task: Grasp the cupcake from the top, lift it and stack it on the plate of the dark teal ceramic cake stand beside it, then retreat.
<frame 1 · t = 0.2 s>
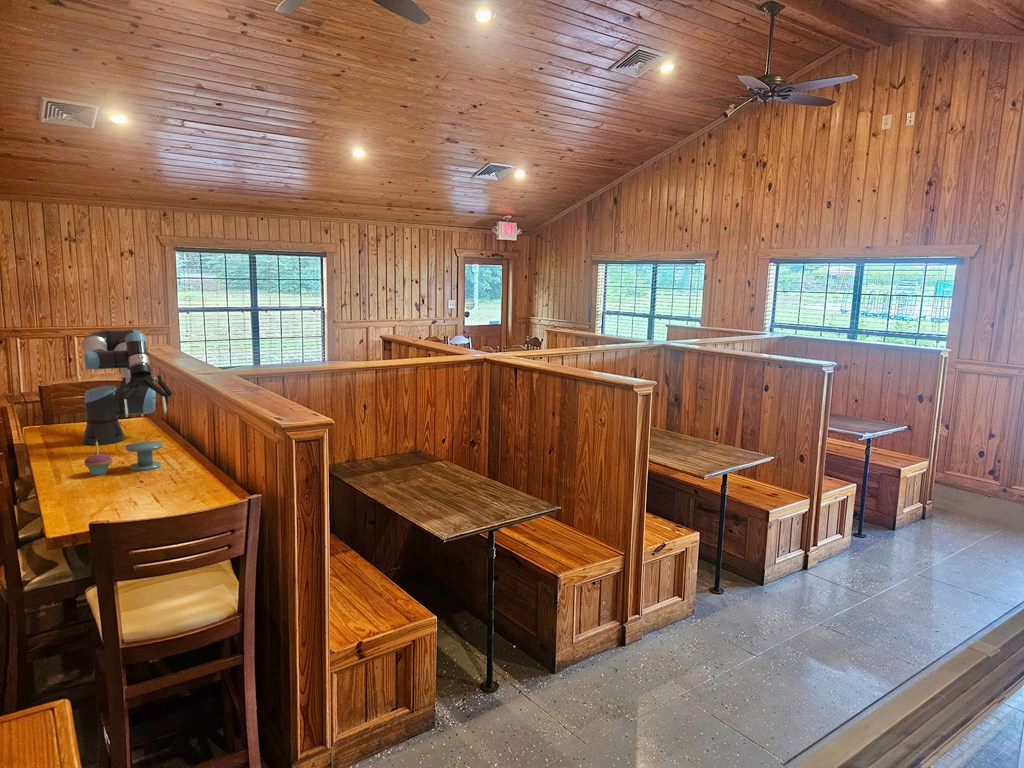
hand: (146, 413, 261), 16 cm above the table, tool tilted 35°, fingers open, 13 cm apart
cupcake: (99, 474, 233), on the table
cake stand: (145, 467, 242), on the table
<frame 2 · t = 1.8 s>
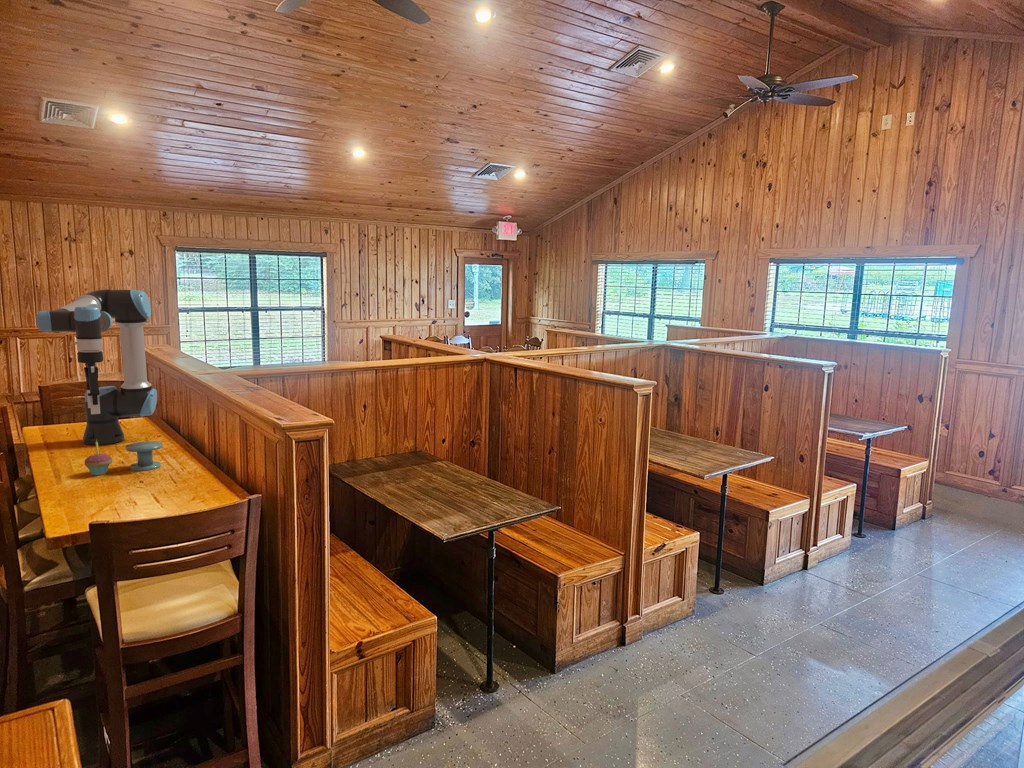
hand: (94, 410, 230), 23 cm above the table, tool pointing down, fingers open, 13 cm apart
nothing on the table moved.
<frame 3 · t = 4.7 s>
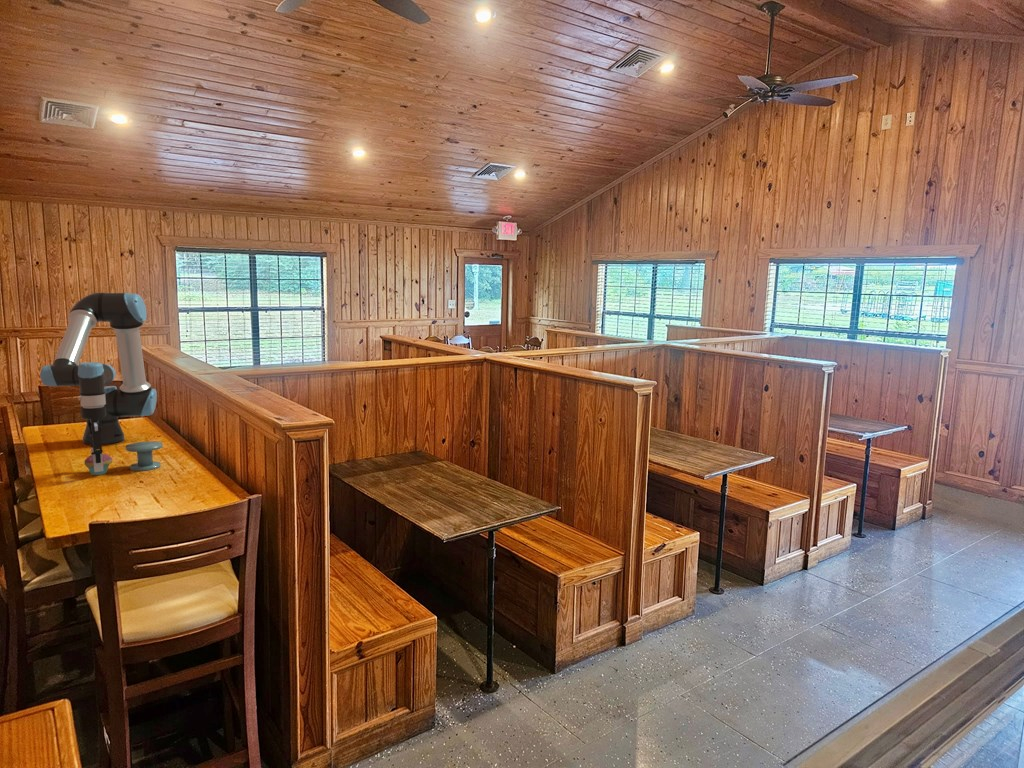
hand: (97, 468, 233), 2 cm above the table, tool pointing down, fingers closed on cupcake, 8 cm apart
cupcake: (99, 473, 234), on the table, touching gripper
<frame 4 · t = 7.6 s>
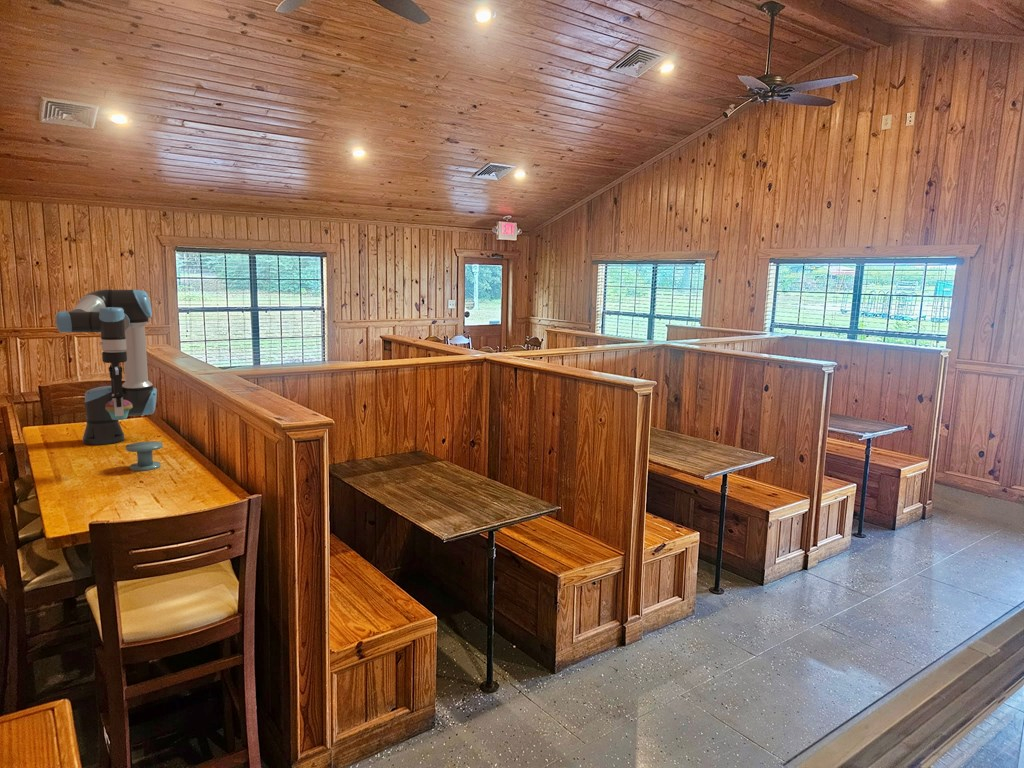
hand: (118, 413, 235), 21 cm above the table, tool pointing down, fingers closed on cupcake, 8 cm apart
cupcake: (119, 419, 235), point 19 cm above the table, touching gripper
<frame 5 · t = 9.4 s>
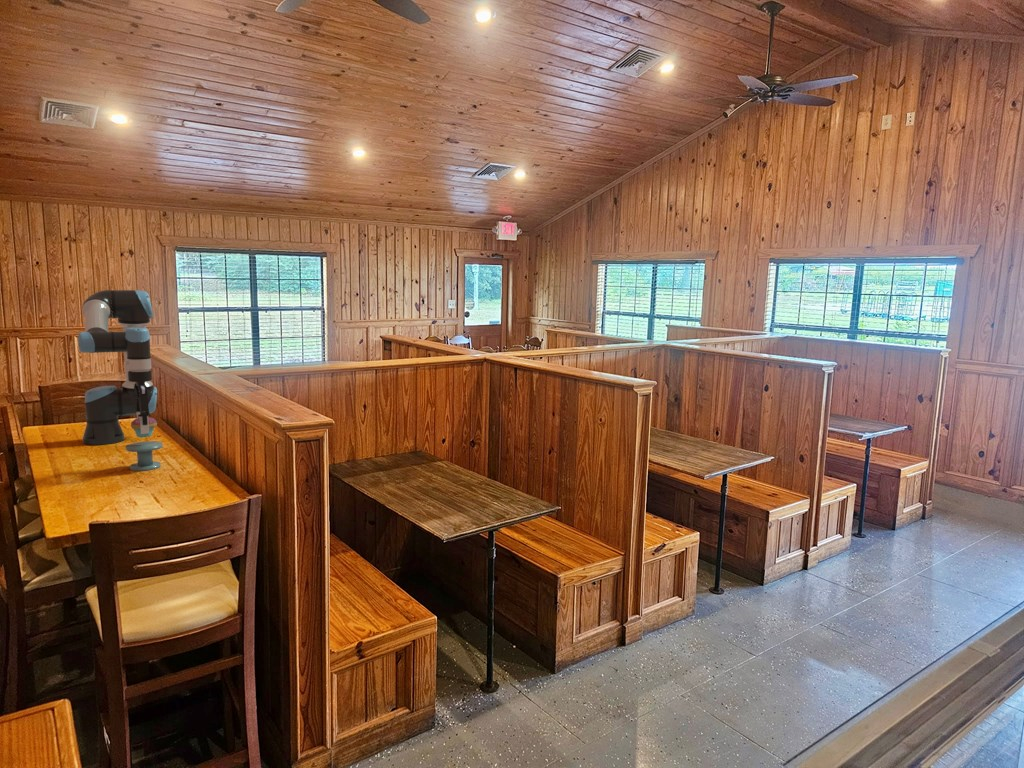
hand: (143, 431, 240), 14 cm above the table, tool pointing down, fingers closed on cupcake, 8 cm apart
cupcake: (144, 436, 241), point 12 cm above the table, touching gripper
when the fingers open (12 cm above the table, at t = 10.7 s): cupcake drops 1 cm, resting on cake stand.
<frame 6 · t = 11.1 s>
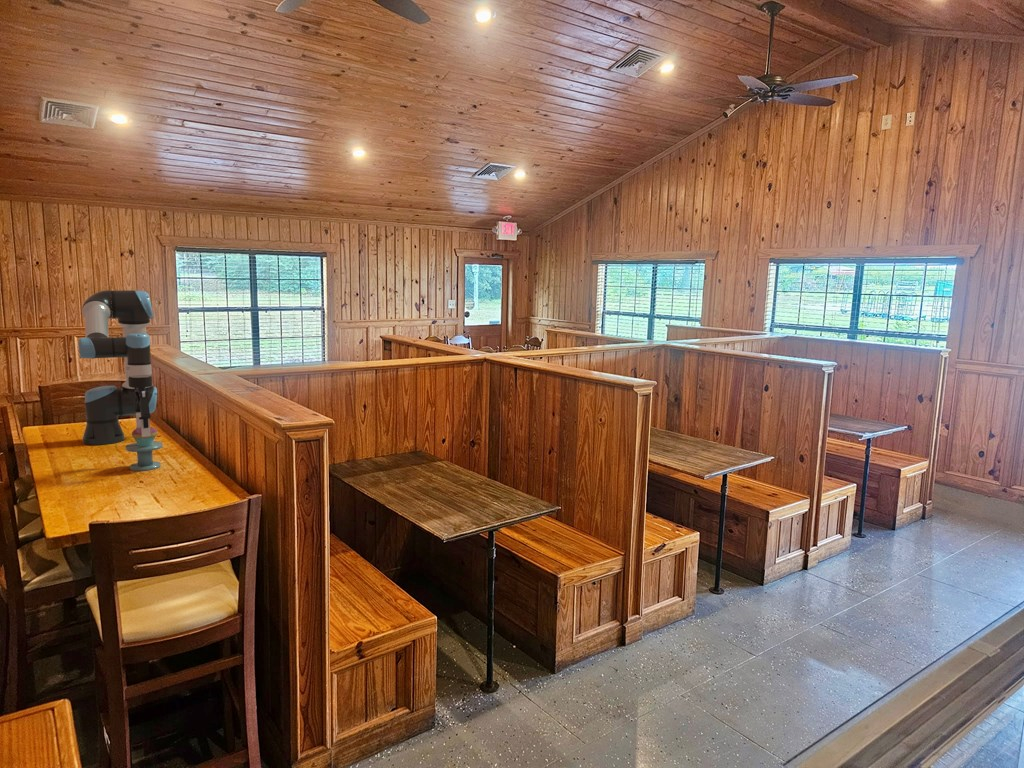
hand: (143, 432, 240), 13 cm above the table, tool pointing down, fingers open, 13 cm apart
cupcake: (145, 445, 241), point 8 cm above the table, touching cake stand
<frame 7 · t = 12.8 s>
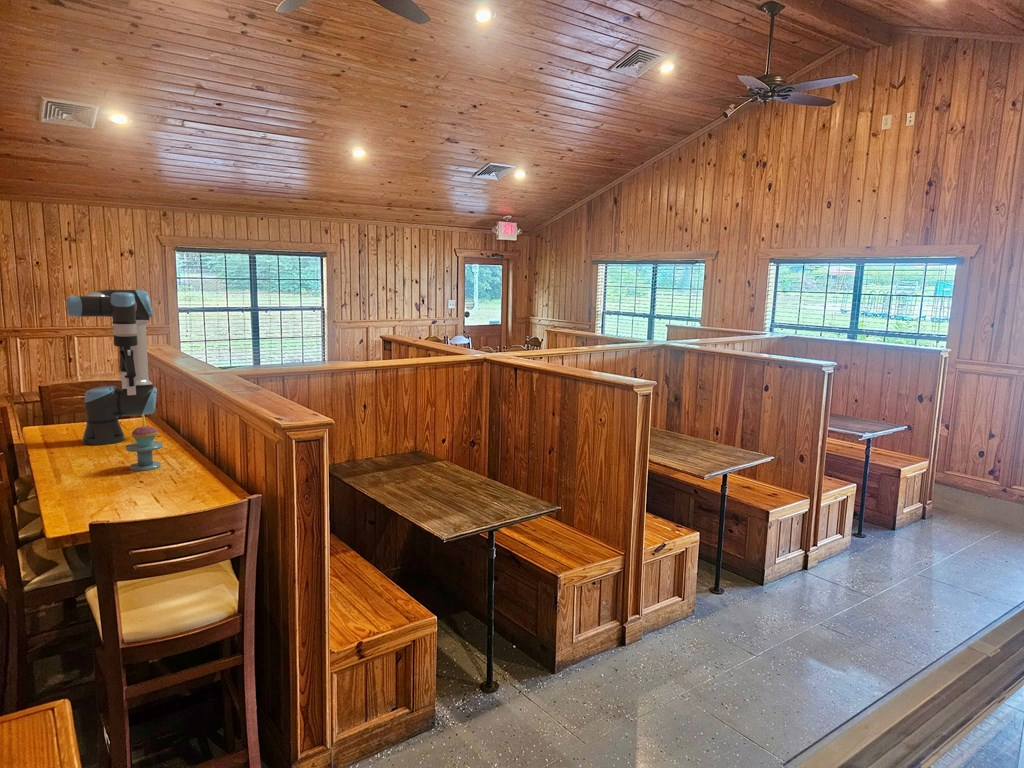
hand: (128, 391, 242), 28 cm above the table, tool pointing down, fingers open, 13 cm apart
nothing on the table moved.
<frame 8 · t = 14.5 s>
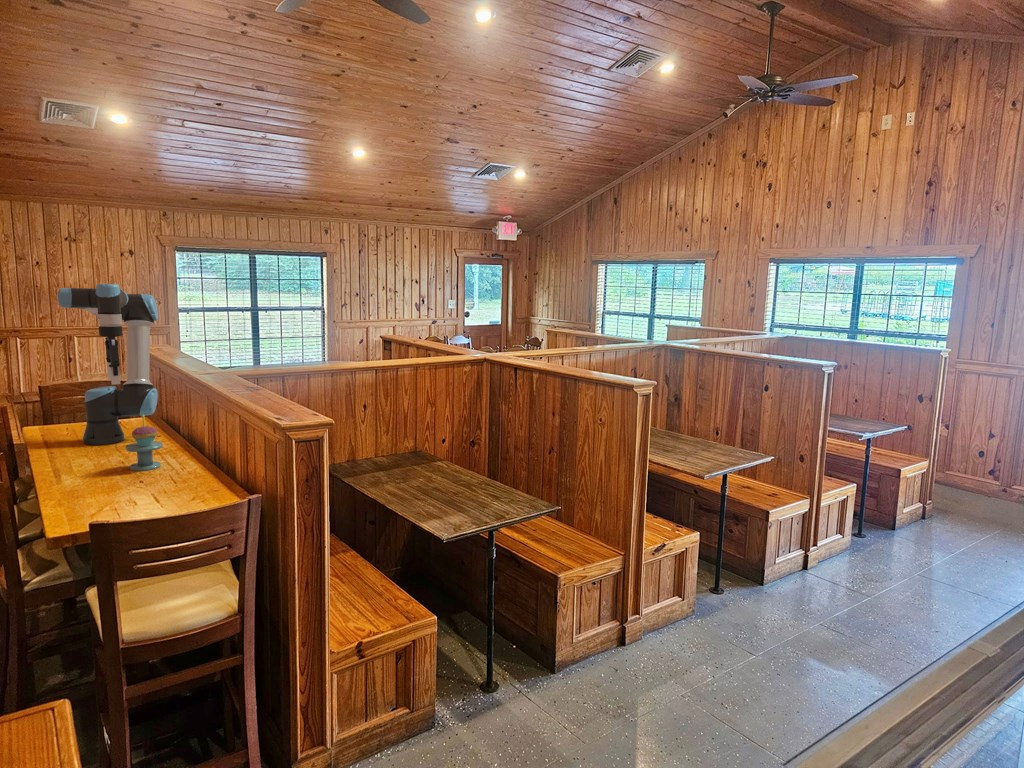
hand: (114, 381, 245), 31 cm above the table, tool pointing down, fingers open, 13 cm apart
nothing on the table moved.
at the end: cupcake inside the target area on the cake stand (0.6 cm from its centre), point 8.3 cm above the cake stand's base; cupcake tilted 0° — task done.
